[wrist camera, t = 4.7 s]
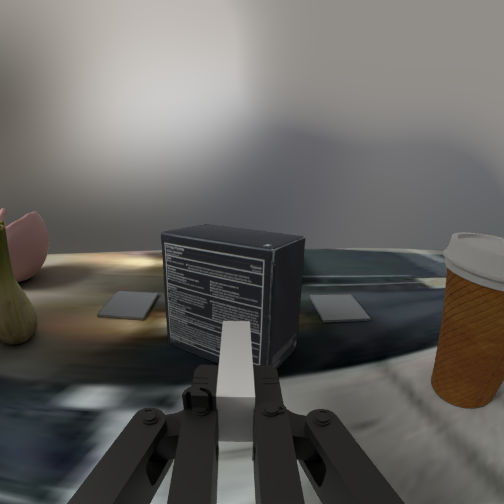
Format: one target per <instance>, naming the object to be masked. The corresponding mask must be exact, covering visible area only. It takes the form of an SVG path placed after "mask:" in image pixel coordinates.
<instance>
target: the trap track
mask: <svg viewBox="0 0 504 504" xmlns="http://www.w3.org/2000/svg"><path fill="white" fill-rule="evenodd" d="M157 296H158V293H148V292H126V291H117V293H116V294H115V295H114V296H113V297H112V298H111V299H110V300H109V302H108V303H107V304H106V305H105V306H104V307H103V308H102V310H101V311H100V312H99V313H98V314H97V315H98V317H108V318H120V319H135V320H144V319H145V317H146V315H147V313H148V312H149V310H150V308H151V306H152V305H153V303H154V301H155V300H156V298H157ZM310 299H311V301H312V302H313V304H314V306H315V308H316V310H317V312H318V314H319V316H320V318H321V320H322V322H323V323H329V322H353V321H370V317H369V316H368V315H367V313H366V312H365V311H364V310H363V309H362V307H361V306H360V305H359V304H358V302H357V301H356V300H355V299H354V298H353V296H352V295H310Z"/></svg>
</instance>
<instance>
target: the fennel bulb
mask: <svg viewBox="0 0 504 504" xmlns="http://www.w3.org/2000/svg"><path fill="white" fill-rule="evenodd" d="M36 328H37V320H36V314H35V311H34V308H33V306H32V305H31V303H30V301H29V299H28V298H27V296H26V294H25V293H24V291H23V290H22V288H21V287H20V285H19V284H18V283H17V281H16V280H15V278H14V275H13V271H12V266H11V261H10V256H9V249H8V243H7V235H6V229H5V226H4V221H3V220H1V221H0V340H1V341H2V342H4V343H6V344H9V345H15V344H22V343H24V342H26V341H27V340H28V339H29V338H30V337H31V336H32V335H33V334H34V333H35V330H36Z"/></svg>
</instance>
